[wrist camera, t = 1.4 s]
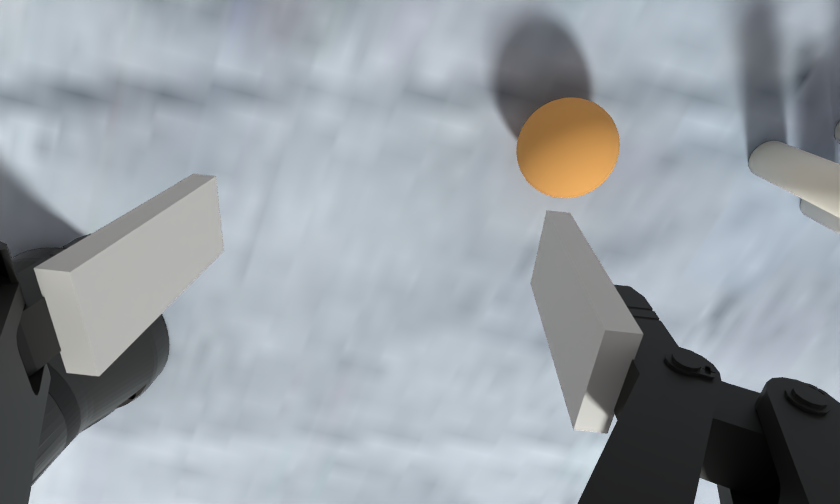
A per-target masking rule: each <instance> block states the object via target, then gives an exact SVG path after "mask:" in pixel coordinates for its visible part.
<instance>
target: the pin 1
mask: <svg viewBox="0 0 840 504" xmlns="http://www.w3.org/2000/svg"><path fill="white" fill-rule="evenodd" d="M800 209H801V211H802V213H803V214H804V215H805V216H807V217H809V218H811V219H813V220H814V221H816V222H818V223H820V224H822V225H823V226H825V227H827V228H829V229H831V230H832V231H834V232H836V233H838V234H840V218H839V217H837V216H835V215H833V214H831V213H829V212H827V211H825V210H823V209H821V208H819V207H817V206H815V205H813V204H811V203H809V202H807V201H805V200H804V199H802V200H801V204H800Z"/></svg>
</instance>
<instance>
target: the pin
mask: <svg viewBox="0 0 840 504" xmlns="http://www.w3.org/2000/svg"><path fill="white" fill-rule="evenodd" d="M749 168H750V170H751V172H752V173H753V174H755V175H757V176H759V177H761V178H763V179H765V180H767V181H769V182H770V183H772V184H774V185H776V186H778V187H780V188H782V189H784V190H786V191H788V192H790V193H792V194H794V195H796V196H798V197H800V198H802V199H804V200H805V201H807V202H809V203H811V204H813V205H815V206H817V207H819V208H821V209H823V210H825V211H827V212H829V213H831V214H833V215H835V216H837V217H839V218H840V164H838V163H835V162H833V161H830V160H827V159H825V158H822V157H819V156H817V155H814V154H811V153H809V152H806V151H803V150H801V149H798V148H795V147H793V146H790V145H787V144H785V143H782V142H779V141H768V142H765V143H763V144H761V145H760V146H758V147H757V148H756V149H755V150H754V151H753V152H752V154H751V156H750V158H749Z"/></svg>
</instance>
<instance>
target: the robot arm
mask: <svg viewBox="0 0 840 504" xmlns="http://www.w3.org/2000/svg"><path fill="white" fill-rule="evenodd" d="M223 251H224V245H223V236H222V226H221V217H220V208H219V199H218V190H217V181H216V176H209V175H200V174H192V175H190V176H189V177H187V178H185V179H184V180H182V181H180V182H179V183H177V184H175V185H173V186H172V187H170V188H168V189H167V190H165V191H163V192H162V193H160V194H158V195H157V196H155V197H153V198H151V199H150V200H148V201H146V202H145V203H143V204H141V205H140V206H138V207H136V208H135V209H133V210H131V211H129V212H128V213H126V214H124V215H123V216H121V217H119V218H118V219H116V220H114V221H113V222H111V223H109V224H107V225H106V226H104V227H102V228H101V229H99V230H97V231H96V232H94V233H92V234H89V235H86V236H83V237H80V238H77V239H76V240H74V241H72V242H71V243H69V244H67V245H65V246H64V247H63V249H62V248H40V249H34V250H29V251H26V252H23V253H21V254H19V255H17V256H15V257H13V258H11V256H10V253H9V250H8V247H7V244H5V243H3V242H1V241H0V504H28V502H29V496H30V491H31V486H32V485H33V484H34V483H35V482H36V480H37V479H38V478H39V477H40V476H41V475H42V474H43V473H44V471H45V470H46V469H47V468H48V467H49V466H50V465H51V464H52V462H53V461H54V460H55V459H56V458H57V457H58V456H59V455H60V453H61V452H62V451H63V450H64V449H65V448H66V447H67V446H68V445H69V444H70V442H71V441H72V440H73V439H74V438H75V437H76V436H77V435H78V434H79V433H80V432H82V431H83V430H85V429H87V428H89V427H90V426H92V425H93V424H95V423H97V422H98V421H100V420H101V419H103V418H104V417H106V416H107V415H109V414H110V413H111V412H113V411H114V410H115V409H116V408H119V407H122V406H124V405H126V404H128V403H130V402H131V401H133V400H135V399H136V398H138V397H139V396H140V395H141V394H142V393H144V392H145V391H146V390H147V389H148V387H149V386H150V385H151V384H152V383H153V381H154V380H155V379H156V378H157V377H158V375H159V374H160V373H161V372H162V370H163V368H164V367H165V365H166V362H167V359H168V355H169V337H168V332H167V328H166V325H165V323H164V320H163V318H162V316H161V314H162V313H163V312H164V311H165V310H166V309H167V308H168V307H169V306H170V305H171V304H172V303H173V302H174V301H175V300H176V299H177V298H178V297H179V296H180V295H181V294H182V293H183V292H184V291H185V290H186V289H187V288H188V287H189V286H190V285H191V284H192V283H193V282H194V281H195V280H196V279H197V278H198V277H199V275H200V274H201V273H202V272H203V271H204V270H205V269H206V268H207V267H208V266H209V265H210V264H211V263H212V262H213V261H214V260H215V259H216V258H217V257H218V256H219V255H220V254H221V253H222V252H223ZM531 287H532V290H533V293H534V297H535V300H536V304H537V307H538V310H539V314H540V317H541V321H542V324H543V327H544V331H545V334H546V338H547V341H548V344H549V348H550V351H551V355H552V358H553V361H554V365H555V368H556V372H557V375H558V379H559V382H560V385H561V389H562V392H563V396H564V399H565V402H566V406H567V409H568V413H569V416H570V419H571V423H572V426H573V430H581V431H590V432H599V433H608V430H609V428H610V425H611V422H612V419H613V417H614V414H615V416H616V418H617V420H618V421H617V423H616V425H615V427H614V429H613V431H612V433H611V435H610V437H609V439H608V441H607V443H606V445H605V448H604V450H603V452H602V454H601V456H600V458H599V460H598V462H597V464H596V466H595V468H594V470H593V473H592V475H591V477H590V479H589V481H588V483H587V485H586V487H585V489H584V491H583V493H582V495H581V498H580V500H579V502H578V504H694V500H695V496H696V491H697V487H698V482H699V478H702V479H704V480H707V481H710V482H713V483H715V484H717V487H718V493H719V498H720V504H840V403H839V402H838V401H836V400H835V399H834V398H832V397H831V396H830V395H828V393H826V392H825V391H823V390H821V389H818V388H817V387H815V386H813V385H811V384H808V383H804V382H801V381H798V380H794V379H789V378H783V377H781V378H772V379H770V380H769V381H768V382H766V384H765V386H764V388H763V390H762V392H761V393H758V392H755V391H751V390H748V389H745V388H741V387H738V386H735V385H731V384H728V383H726V382H723V381H721V377H720V373H719V371H718V370H717V369H716V367H715V366H714V365H713V364H712V363H711V362H709V361H708V360H707V359H705V358H704V357H702V356H700V355H698V354H696V353H694V352H692V351H690V350H687V349H684V348H681V347H679V346H678V345H677V344H676V342H675V341H674V339H673V338H672V336H671V335H670V333H669V332H668V331H667V329H666V328H665V326H664V325H663V323H662V322H661V321H659V318H658V316H657V315H656V313H655V312H654V311H652V307H651V306H650V304H649V303H648V302H647V300H646V299H645V297H643V296H642V295H641V294H639V293H638V292H637V291H635V290H634V289H633V288H631V287H630V286H621V285H613V283H612V281H611V280H610V278H609V276H608V275H607V273H606V271H605V270H604V268H603V266H602V265H601V263H600V261H599V260H598V258H597V257H596V255H595V253H594V252H593V250H592V248H591V247H590V245H589V243H588V242H587V240H586V238H585V237H584V235H583V233H582V232H581V230H580V228H579V227H578V225H577V223H576V222H575V220H574V219H573V217H572V215H571V214H570V213H566V212H556V211H546V216H545V220H544V225H543V229H542V234H541V238H540V243H539V247H538V252H537V256H536V261H535V265H534V270H533V275H532V279H531Z"/></svg>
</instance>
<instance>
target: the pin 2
mask: <svg viewBox="0 0 840 504" xmlns="http://www.w3.org/2000/svg"><path fill="white" fill-rule="evenodd" d="M835 139H836V141H837V142H838V143H839V144H840V121H839V122H838V124H837V126H836V128H835Z"/></svg>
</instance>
